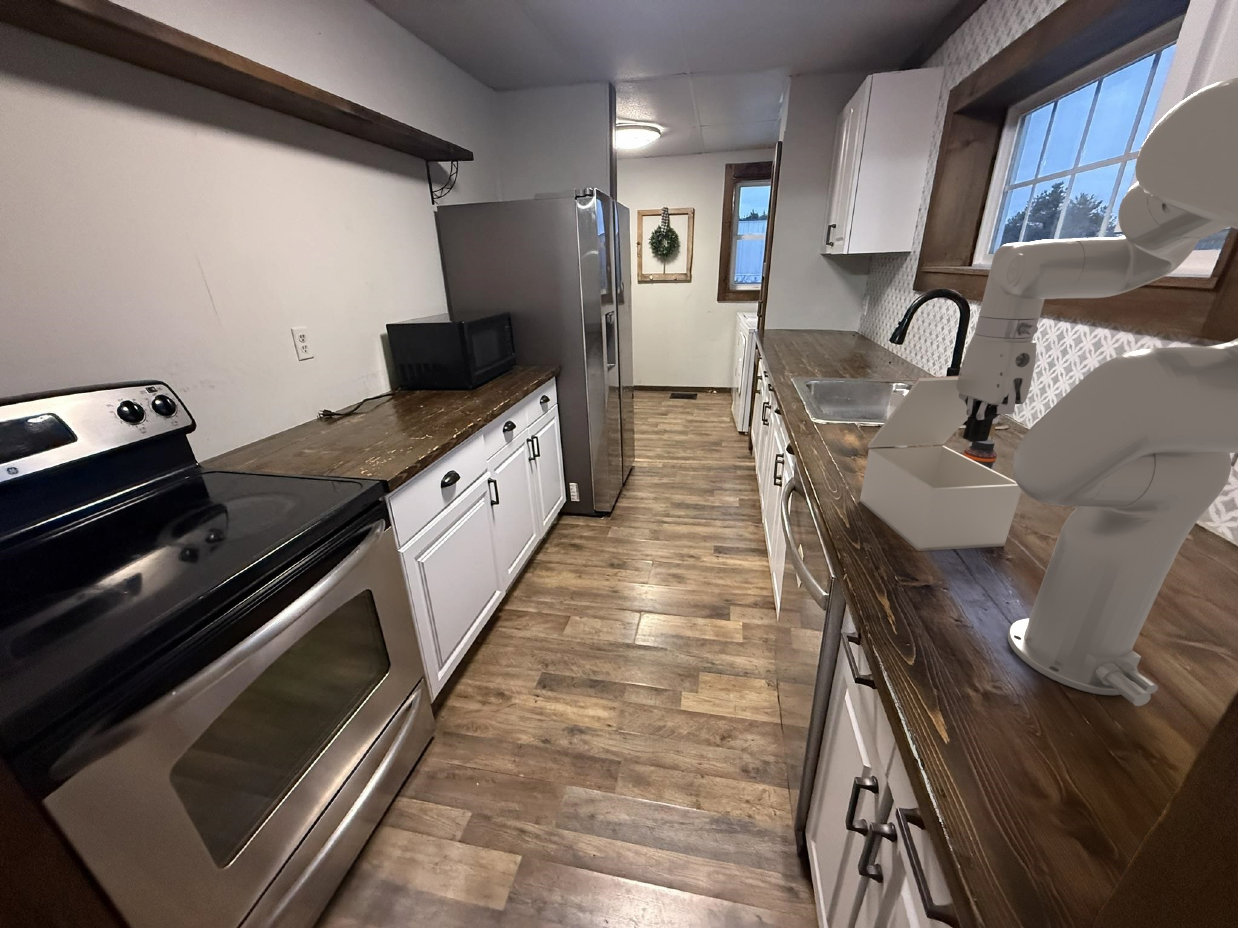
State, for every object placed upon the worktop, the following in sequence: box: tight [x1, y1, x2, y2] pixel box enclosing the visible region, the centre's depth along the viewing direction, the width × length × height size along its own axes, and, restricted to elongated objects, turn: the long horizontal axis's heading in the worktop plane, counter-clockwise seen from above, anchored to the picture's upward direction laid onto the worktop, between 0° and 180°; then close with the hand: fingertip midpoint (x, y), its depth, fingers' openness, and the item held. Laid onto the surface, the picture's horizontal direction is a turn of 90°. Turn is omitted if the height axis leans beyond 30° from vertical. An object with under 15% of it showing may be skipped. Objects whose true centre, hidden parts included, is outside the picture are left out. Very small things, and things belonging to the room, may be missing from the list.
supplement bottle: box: [962, 439, 998, 470], centre depth 109 cm, size 6×6×11 cm
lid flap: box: [867, 375, 968, 449], centre depth 94 cm, size 20×16×1 cm
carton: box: [859, 445, 1023, 552], centre depth 95 cm, size 20×16×12 cm
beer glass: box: [887, 388, 910, 448], centre depth 135 cm, size 7×7×15 cm
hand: (974, 439), depth 84 cm, fingers closed
